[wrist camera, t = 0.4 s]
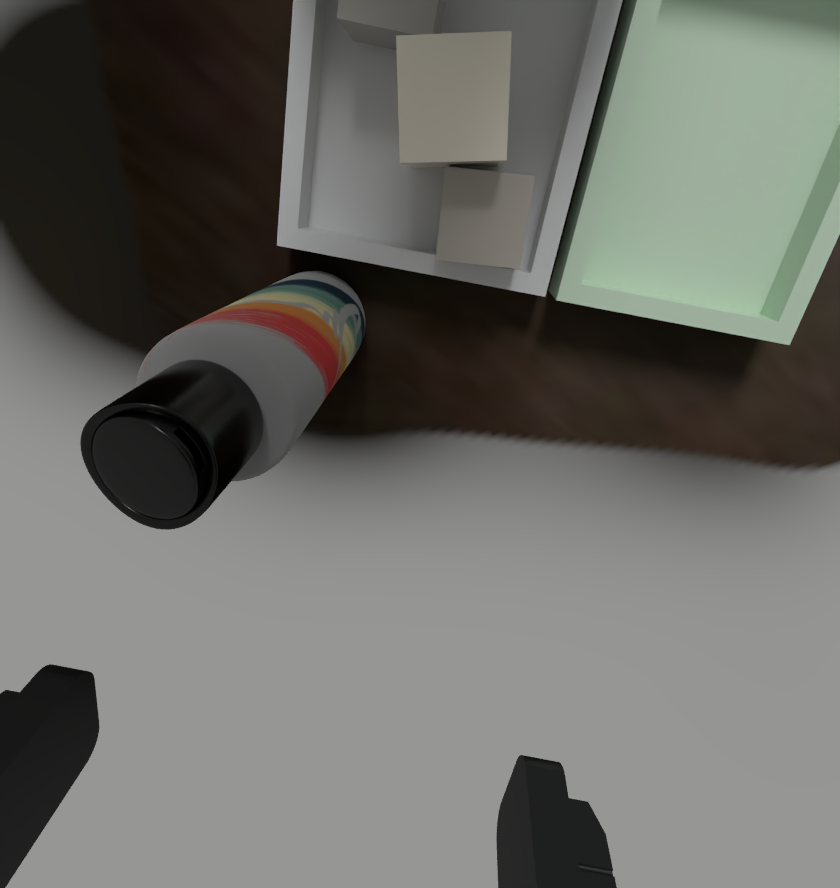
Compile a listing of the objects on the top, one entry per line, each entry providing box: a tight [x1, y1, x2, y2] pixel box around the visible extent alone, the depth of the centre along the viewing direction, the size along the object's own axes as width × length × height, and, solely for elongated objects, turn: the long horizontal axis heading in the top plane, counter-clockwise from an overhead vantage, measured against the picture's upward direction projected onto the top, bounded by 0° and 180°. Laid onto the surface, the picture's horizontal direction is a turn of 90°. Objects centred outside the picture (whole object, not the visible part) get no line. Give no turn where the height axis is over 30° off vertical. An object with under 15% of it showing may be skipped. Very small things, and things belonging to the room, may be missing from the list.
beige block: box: [396, 31, 512, 168], centre depth 25 cm, size 4×4×6 cm
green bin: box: [549, 0, 840, 345], centre depth 27 cm, size 16×12×3 cm
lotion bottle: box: [81, 271, 366, 529], centre depth 24 cm, size 6×6×20 cm
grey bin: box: [277, 0, 623, 297], centre depth 27 cm, size 16×14×2 cm
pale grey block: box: [435, 166, 535, 269], centre depth 28 cm, size 4×4×4 cm
